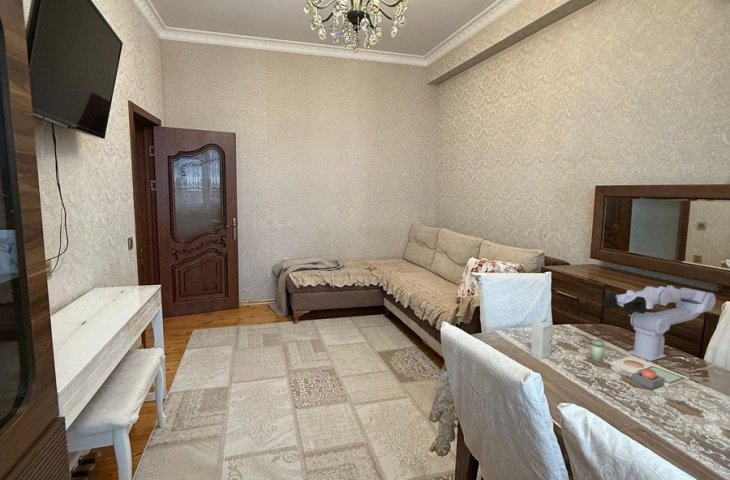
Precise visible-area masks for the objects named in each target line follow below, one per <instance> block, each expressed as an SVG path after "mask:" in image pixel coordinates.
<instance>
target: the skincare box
mask: <svg viewBox="0 0 730 480" xmlns="http://www.w3.org/2000/svg"><path fill="white" fill-rule="evenodd" d="M531 333H532V334H531V335H532V337H531V356H532V357H535V358H537V359H540V360H543V359H546V358H548V357H551V356H552V338H553V337H552V336H553V323H551V322H546V321H544V320H541V321H537V322H535V323H532V332H531Z"/></svg>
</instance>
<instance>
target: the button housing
mask: <svg viewBox="0 0 730 480" xmlns="http://www.w3.org/2000/svg"><path fill="white" fill-rule="evenodd" d="M664 380H665V378H663V377H660V376H658V375H656V377H655V380H649V379H647V378H644V377H642V376H641V371H639V372H636V373H632V374H631V382H632V383H635V384H637V385H640V386H642V387H644V388H647V389H648V390H649V389H650V390H652V391H653V390H656V389H658V388H661V387H665V386H664Z"/></svg>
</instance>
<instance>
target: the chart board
mask: <svg viewBox="0 0 730 480" xmlns="http://www.w3.org/2000/svg"><path fill="white" fill-rule="evenodd" d="M609 365H612V366H614V367H617V368H618V369H621V370H624V371H627V372H629V373H632V374H633V373H636V372H639V371H642V369H650V370H653V371H655V372H656V375H658V376H660V377H663V378H665V380H664V386H663V387H666V388H670V387H672V386H675V385H679V384H680V383H684V382H686V381H687V382H688V381H689V380H690V377H688V376H687V375H686V376H685V375H682V374H680V373H677V372H676V371H672V370H669V369H667V368H664V367H661V366H659V365H656V364H653V363H650V362H648V361H645V360H642V359H641V358H640V359H639V358H637V357H634V356H627V357H624V358H619V359H616V360H613V361H610V362H609Z"/></svg>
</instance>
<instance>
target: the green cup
mask: <svg viewBox="0 0 730 480" xmlns="http://www.w3.org/2000/svg"><path fill="white" fill-rule="evenodd" d="M604 346H605V341H603V340H602V339H596V338H594V339H592V340H591V355H590V360H591V361H593V362H596V363H602V362H603V358H604V357H603V353H604Z"/></svg>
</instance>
